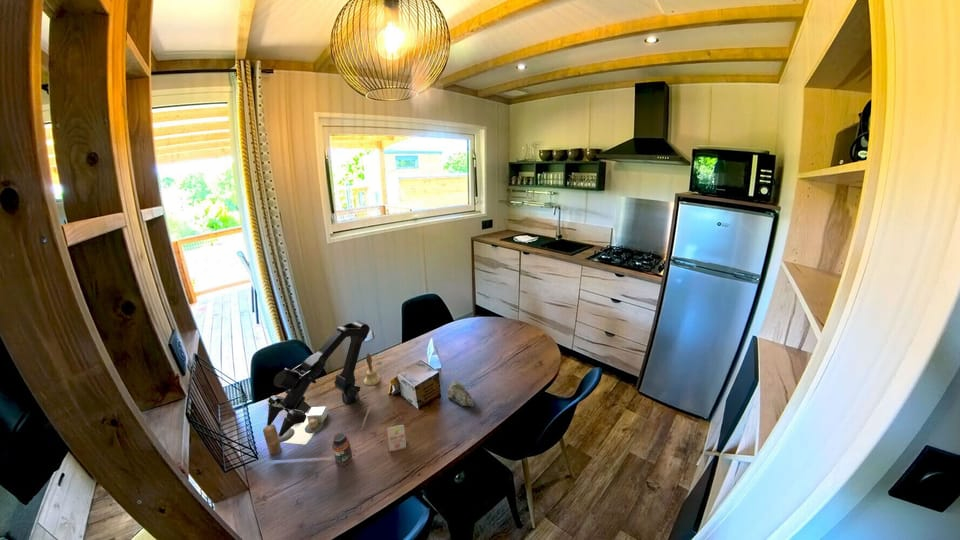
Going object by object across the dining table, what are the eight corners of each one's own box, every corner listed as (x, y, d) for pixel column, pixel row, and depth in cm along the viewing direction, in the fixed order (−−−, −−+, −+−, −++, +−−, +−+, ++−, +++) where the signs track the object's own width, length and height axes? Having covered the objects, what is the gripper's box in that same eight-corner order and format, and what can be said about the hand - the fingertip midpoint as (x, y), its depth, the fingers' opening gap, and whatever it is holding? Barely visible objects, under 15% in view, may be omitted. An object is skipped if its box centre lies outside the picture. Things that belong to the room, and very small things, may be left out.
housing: (327, 413, 146) (325, 406, 145) (323, 422, 141) (321, 415, 140) (313, 414, 146) (311, 407, 144) (308, 423, 141) (306, 415, 140)
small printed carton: (388, 444, 131) (385, 424, 128) (405, 440, 133) (403, 421, 130) (388, 452, 128) (385, 432, 125) (406, 448, 130) (404, 428, 126)
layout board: (331, 416, 146) (330, 409, 144) (309, 447, 130) (307, 439, 129) (294, 413, 148) (292, 406, 146) (268, 443, 132) (266, 435, 131)
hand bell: (377, 385, 165) (374, 358, 160) (361, 385, 165) (357, 358, 160) (382, 375, 173) (379, 348, 168) (367, 375, 173) (363, 348, 168)
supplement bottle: (346, 450, 129) (342, 427, 125) (355, 457, 126) (351, 434, 122) (332, 461, 124) (327, 438, 121) (341, 469, 121) (337, 445, 117)
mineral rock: (475, 409, 149) (474, 391, 146) (451, 414, 146) (450, 396, 143) (468, 391, 161) (467, 374, 157) (446, 395, 158) (445, 378, 155)
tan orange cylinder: (284, 449, 130) (277, 425, 126) (277, 457, 126) (270, 433, 122) (274, 448, 130) (268, 424, 126) (267, 456, 126) (260, 432, 122)
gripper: (326, 403, 132) (304, 443, 127) (301, 386, 142) (280, 422, 137) (303, 398, 124) (279, 441, 118) (279, 380, 134) (255, 419, 128)
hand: (274, 430), depth 126 cm, fingers open, 9 cm apart
